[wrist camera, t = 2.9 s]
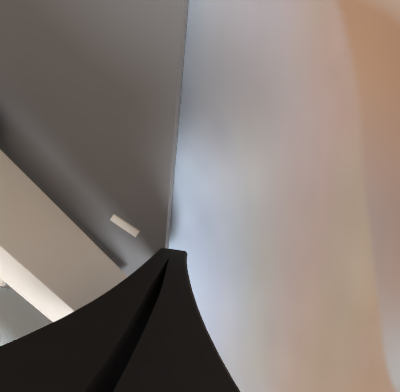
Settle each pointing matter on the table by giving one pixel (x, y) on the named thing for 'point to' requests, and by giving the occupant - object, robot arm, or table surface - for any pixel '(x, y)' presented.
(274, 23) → the table surface
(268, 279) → the table surface
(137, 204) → the dial base
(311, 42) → the table surface
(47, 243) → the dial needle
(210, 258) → the table surface
